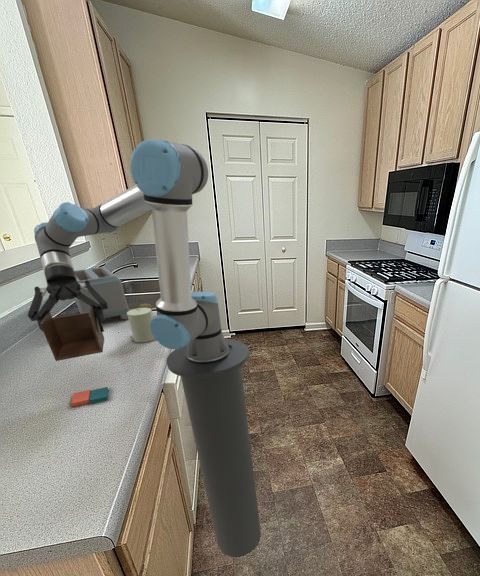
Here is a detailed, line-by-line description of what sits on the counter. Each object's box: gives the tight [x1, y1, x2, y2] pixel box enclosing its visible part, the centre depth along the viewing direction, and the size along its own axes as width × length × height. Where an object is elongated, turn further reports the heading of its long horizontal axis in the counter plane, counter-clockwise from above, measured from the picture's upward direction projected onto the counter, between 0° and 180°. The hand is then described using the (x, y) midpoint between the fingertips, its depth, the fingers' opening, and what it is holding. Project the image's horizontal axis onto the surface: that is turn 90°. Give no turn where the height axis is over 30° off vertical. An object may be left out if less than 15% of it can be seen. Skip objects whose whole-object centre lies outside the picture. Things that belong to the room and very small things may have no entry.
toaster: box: [73, 266, 130, 321], centre depth 159 cm, size 19×33×20 cm, turn 38°
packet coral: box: [70, 389, 91, 408], centre depth 96 cm, size 4×6×1 cm
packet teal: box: [89, 386, 109, 405], centre depth 97 cm, size 4×6×1 cm
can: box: [127, 307, 156, 343], centre depth 134 cm, size 9×9×12 cm
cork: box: [138, 303, 154, 318], centre depth 143 cm, size 6×6×11 cm
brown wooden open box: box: [40, 305, 105, 362], centre depth 95 cm, size 12×11×11 cm
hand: (76, 334), depth 95 cm, fingers closed on brown wooden open box, 12 cm apart
